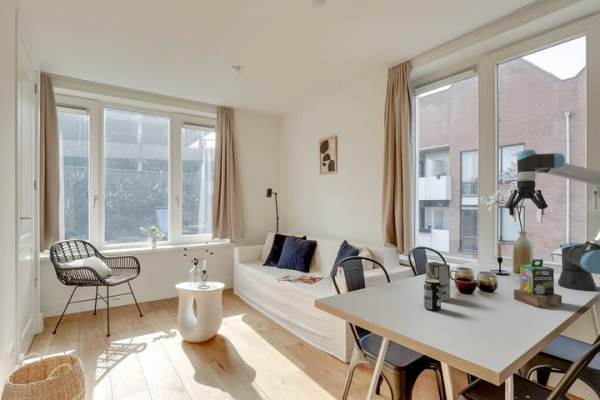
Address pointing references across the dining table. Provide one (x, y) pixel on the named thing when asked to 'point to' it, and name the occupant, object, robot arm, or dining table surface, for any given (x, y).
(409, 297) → the dining table surface
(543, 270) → the chalk box
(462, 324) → the dining table surface
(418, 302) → the dining table surface
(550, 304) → the walnut block
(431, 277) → the coffee box
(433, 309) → the beverage can
